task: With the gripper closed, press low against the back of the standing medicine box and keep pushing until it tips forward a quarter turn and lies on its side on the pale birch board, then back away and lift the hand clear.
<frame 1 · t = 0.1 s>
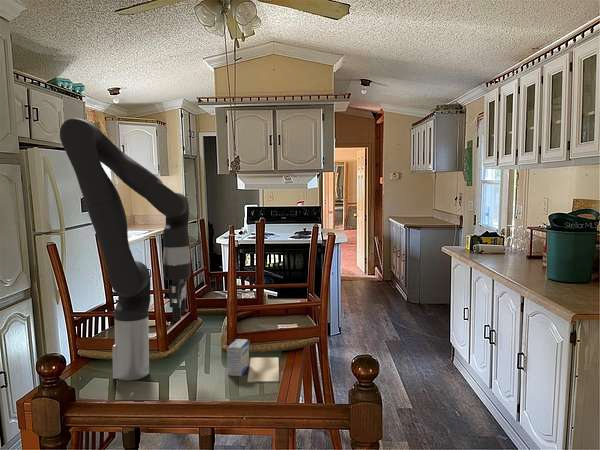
hand: (179, 316, 129), 17 cm above the table, tool pointing down, fingers open, 8 cm apart
medicine box: (238, 371, 133), on the table
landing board: (264, 369, 134), on the table
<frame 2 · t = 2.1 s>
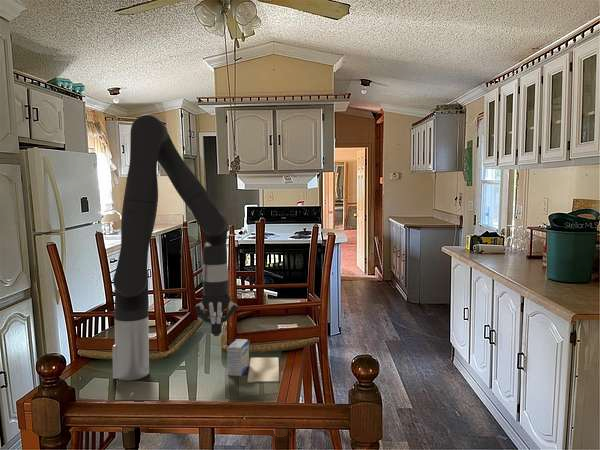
hand: (216, 335, 132), 11 cm above the table, tool pointing down, fingers closed
nothing on the table moved.
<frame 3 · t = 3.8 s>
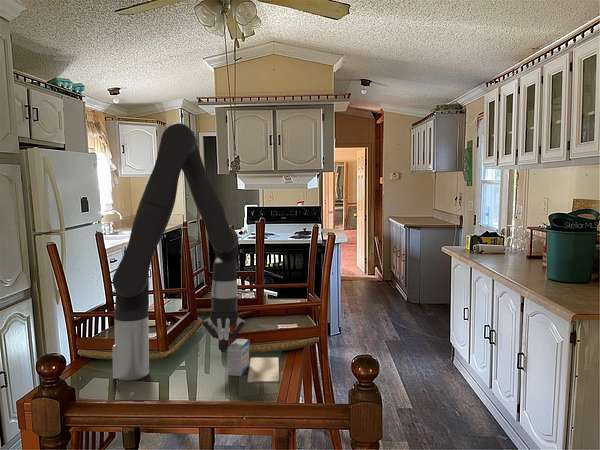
hand: (223, 351, 133), 6 cm above the table, tool pointing down, fingers closed
medicine box: (238, 371, 133), on the table, touching gripper
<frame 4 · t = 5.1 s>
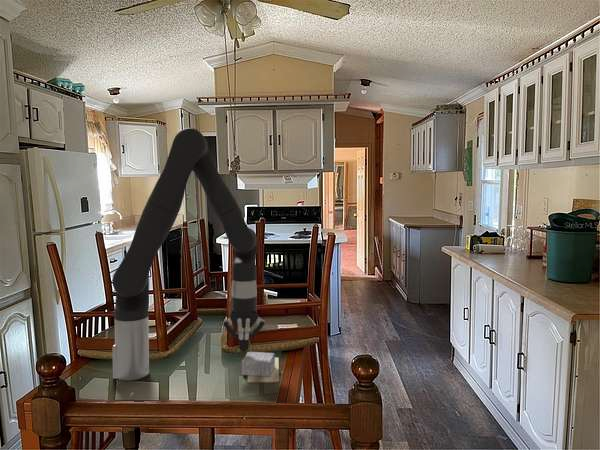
hand: (244, 350, 133), 6 cm above the table, tool pointing down, fingers closed
medicine box: (243, 362, 133), point 3 cm above the table, touching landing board
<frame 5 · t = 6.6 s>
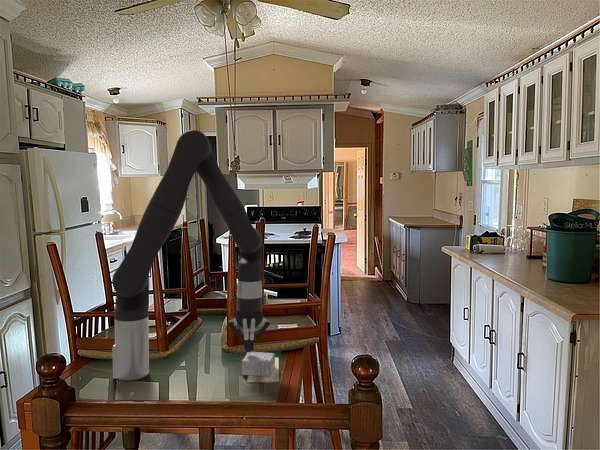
hand: (249, 351, 133), 6 cm above the table, tool pointing down, fingers closed
nothing on the table moved.
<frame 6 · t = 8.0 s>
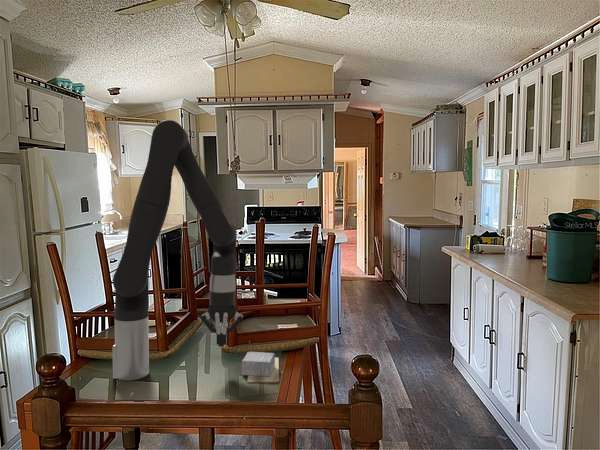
hand: (221, 345, 132), 8 cm above the table, tool pointing down, fingers closed
nothing on the table moved.
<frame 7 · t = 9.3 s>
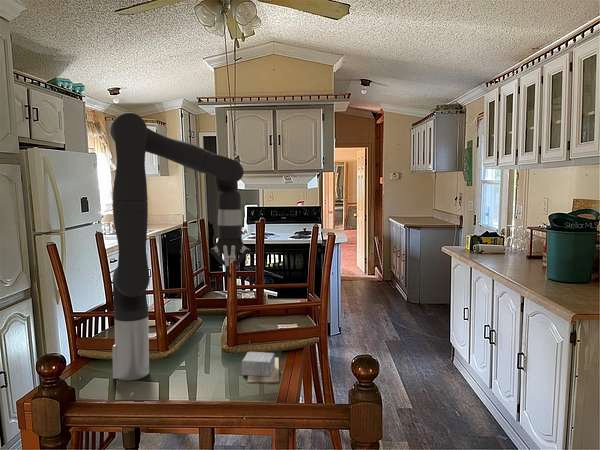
hand: (230, 277, 141), 27 cm above the table, tool pointing down, fingers closed
nothing on the table moved.
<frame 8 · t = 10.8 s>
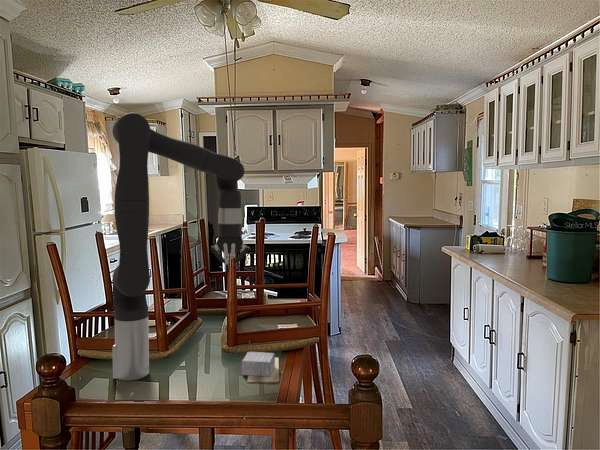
hand: (229, 275, 143), 27 cm above the table, tool pointing down, fingers closed
nothing on the table moved.
at the end: medicine box tilted 90°; medicine box inside the target area (3.1 cm from its centre), point 2.6 cm above the table; medicine box touching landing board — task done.
